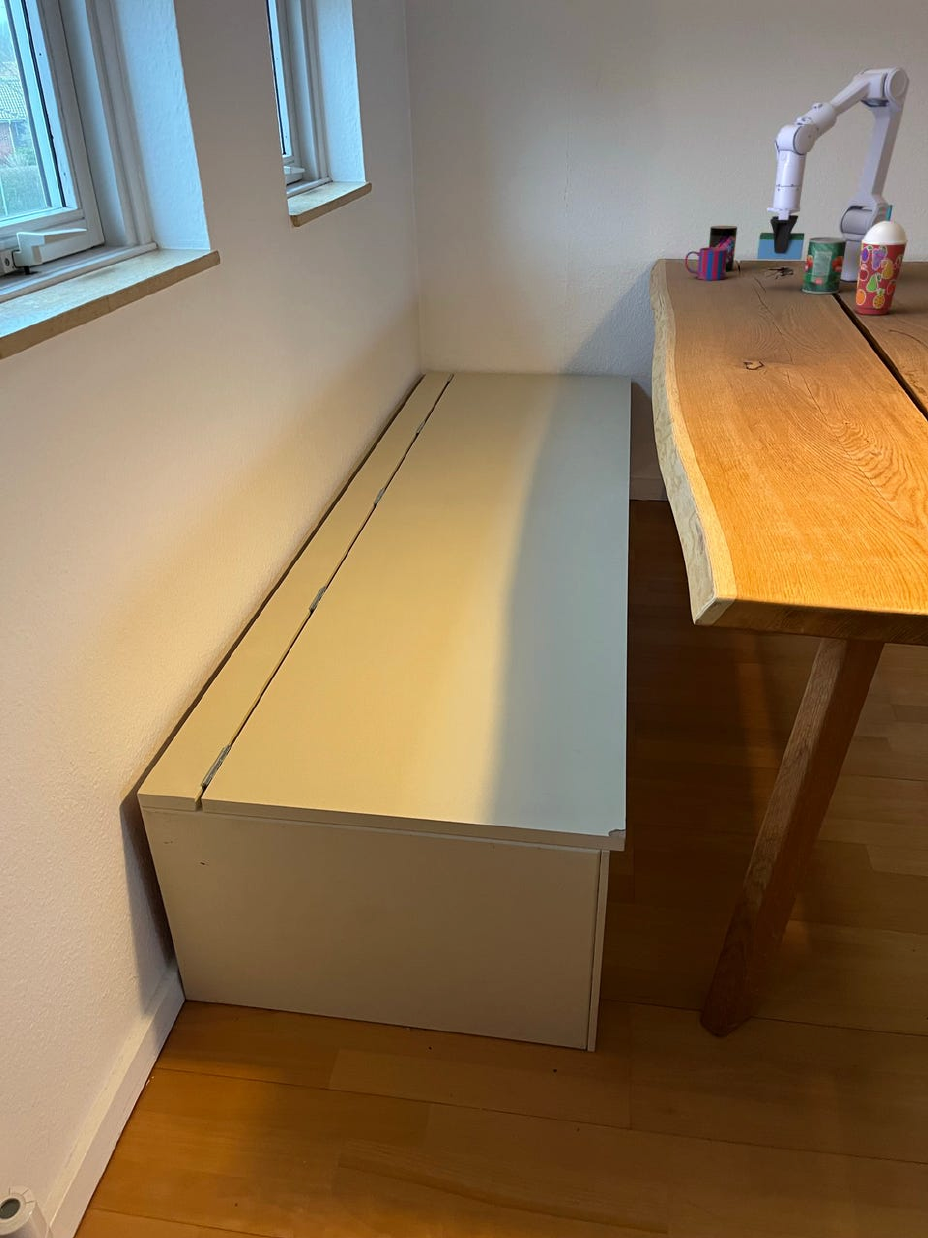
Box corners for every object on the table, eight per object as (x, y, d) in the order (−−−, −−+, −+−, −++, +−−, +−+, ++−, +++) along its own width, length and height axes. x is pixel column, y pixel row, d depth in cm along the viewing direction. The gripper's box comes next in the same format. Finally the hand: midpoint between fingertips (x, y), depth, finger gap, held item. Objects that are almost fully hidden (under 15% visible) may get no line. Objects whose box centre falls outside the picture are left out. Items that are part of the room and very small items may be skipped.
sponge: (801, 256, 213) (804, 233, 211) (800, 259, 208) (804, 235, 206) (758, 255, 216) (761, 232, 213) (756, 258, 211) (759, 235, 209)
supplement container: (701, 270, 242) (705, 227, 237) (713, 267, 247) (717, 224, 242) (725, 272, 238) (730, 228, 233) (737, 269, 243) (742, 226, 238)
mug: (725, 280, 228) (728, 250, 224) (683, 279, 230) (685, 250, 226) (724, 275, 233) (727, 247, 230) (683, 275, 235) (686, 246, 232)
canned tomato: (843, 293, 208) (852, 240, 203) (808, 294, 208) (815, 241, 203) (831, 287, 215) (839, 236, 210) (797, 288, 215) (804, 237, 210)
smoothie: (895, 309, 190) (915, 203, 181) (892, 317, 184) (913, 207, 174) (851, 307, 193) (869, 202, 184) (848, 314, 187) (866, 206, 177)
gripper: (771, 183, 212) (764, 246, 219) (768, 187, 200) (759, 254, 207) (804, 183, 210) (795, 247, 217) (802, 187, 198) (793, 255, 205)
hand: (780, 251), depth 211 cm, fingers closed on sponge, 5 cm apart
